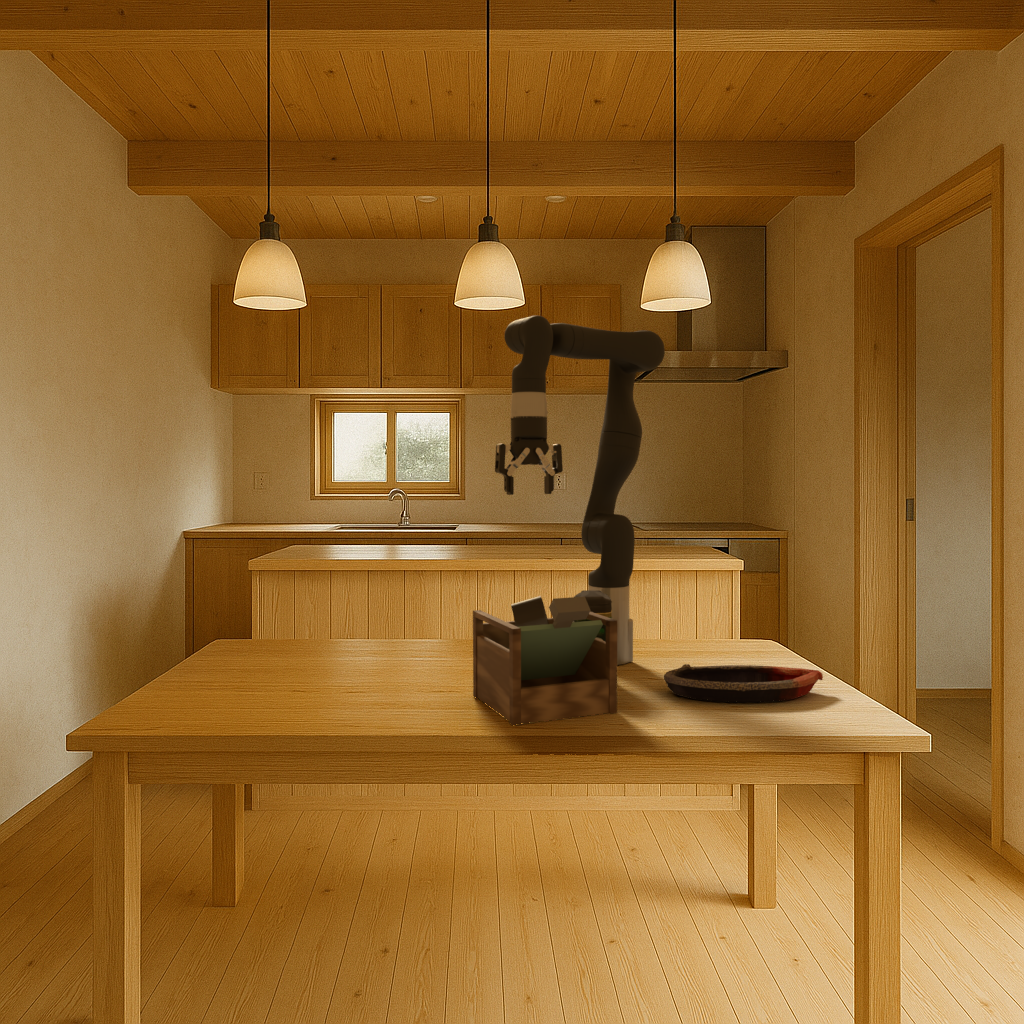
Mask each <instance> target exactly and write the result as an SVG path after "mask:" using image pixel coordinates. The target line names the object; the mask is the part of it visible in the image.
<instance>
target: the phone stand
mask: <svg viewBox="0 0 1024 1024" xmlns="http://www.w3.org/2000/svg"><path fill="white" fill-rule="evenodd" d="M510 605H511V606H510V608H511V610H512V614H513V616H512V617H513V621H515V626H517V627H520V626H533V625H545V624H549V622H548V618H549V617H548V616H547V612H546V608H545V603H544V601H543V598H542V596H541V595H538V596H534V597H532V598H528V599H524V600H521V601H518V602H514V603H511V604H510Z"/></svg>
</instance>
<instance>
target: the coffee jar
mask: <svg viewBox="0 0 1024 1024" xmlns="http://www.w3.org/2000/svg"><path fill="white" fill-rule="evenodd" d="M573 597H585V598H586V601H587V603H588V605H589V608H590V610H591V611H590V612H593V613H596V614H599V615H602V616H605V617H608V618H611V619H612V605H611V603H612V601H611V599H610V597H609V596H608V595H606V594H604V593H602V592H601V591H599V590H588V589H587V590H581V591H580V592H579V593H577V594H575V595H574V596H573ZM583 621H592V620H589V619H583V620H573V622H583ZM596 638H597V639H600V640H602V641H605V642H606V625H602V627H601V629H600V631H599V633H598V634H597V636H596Z"/></svg>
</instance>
